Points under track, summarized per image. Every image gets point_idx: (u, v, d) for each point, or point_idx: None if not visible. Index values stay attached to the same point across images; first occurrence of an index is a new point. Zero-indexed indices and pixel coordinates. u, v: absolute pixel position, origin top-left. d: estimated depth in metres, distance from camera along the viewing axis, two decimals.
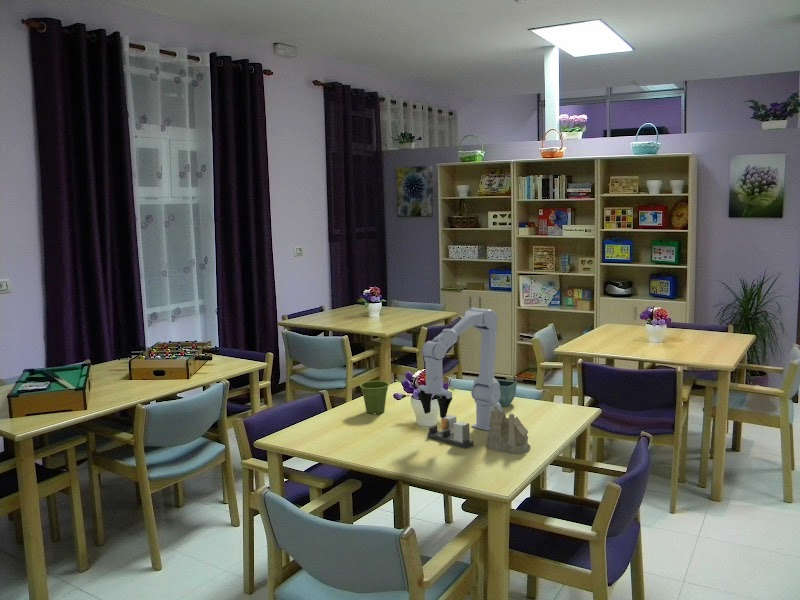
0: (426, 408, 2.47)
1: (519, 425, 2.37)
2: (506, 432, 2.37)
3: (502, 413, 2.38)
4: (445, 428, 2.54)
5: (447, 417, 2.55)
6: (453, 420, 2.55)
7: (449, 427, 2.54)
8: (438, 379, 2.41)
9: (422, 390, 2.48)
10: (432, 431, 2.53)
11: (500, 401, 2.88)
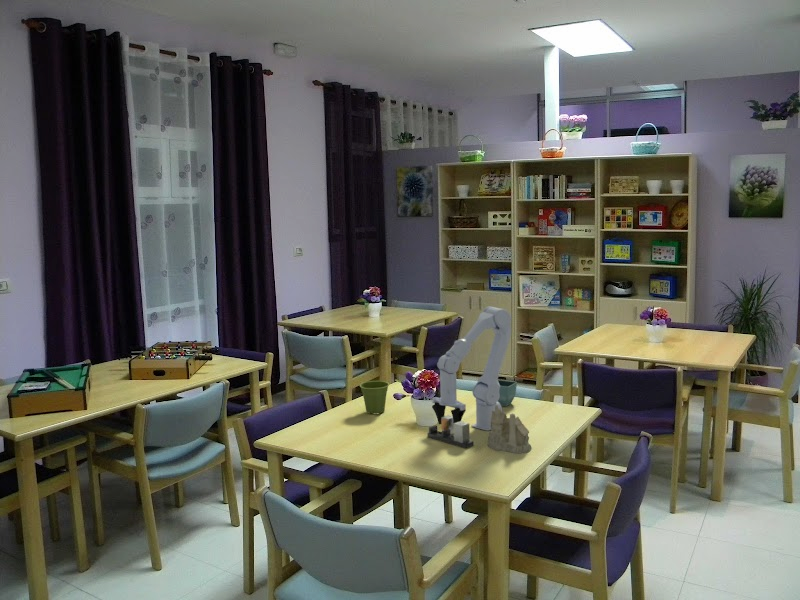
0: (440, 419, 2.58)
1: (520, 425, 2.37)
2: (507, 432, 2.37)
3: (503, 413, 2.38)
4: (445, 428, 2.54)
5: (447, 417, 2.55)
6: None
7: (449, 427, 2.54)
8: (452, 392, 2.52)
9: (436, 402, 2.59)
10: (432, 431, 2.53)
11: (500, 401, 2.88)
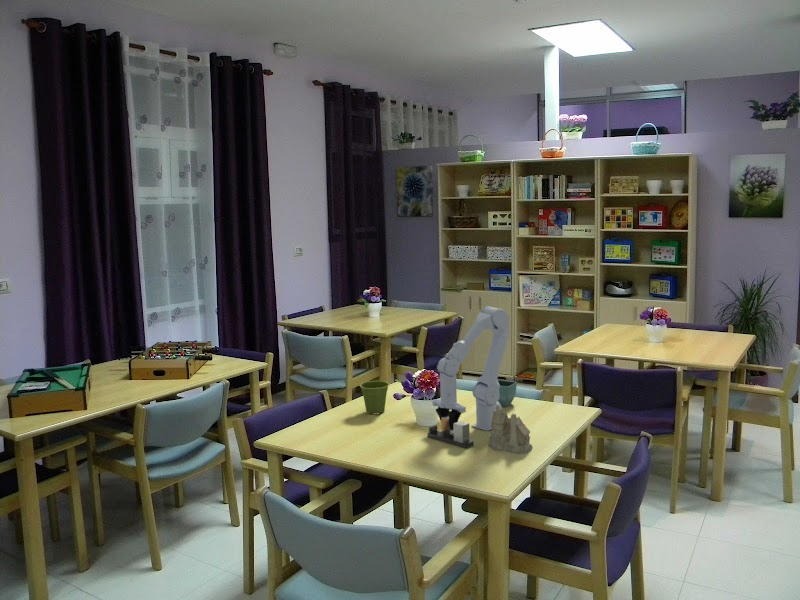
0: None
1: (521, 425, 2.37)
2: (508, 432, 2.37)
3: (504, 413, 2.38)
4: (445, 428, 2.54)
5: (447, 417, 2.55)
6: None
7: (449, 427, 2.54)
8: (452, 394, 2.52)
9: None
10: (432, 431, 2.53)
11: (500, 401, 2.88)
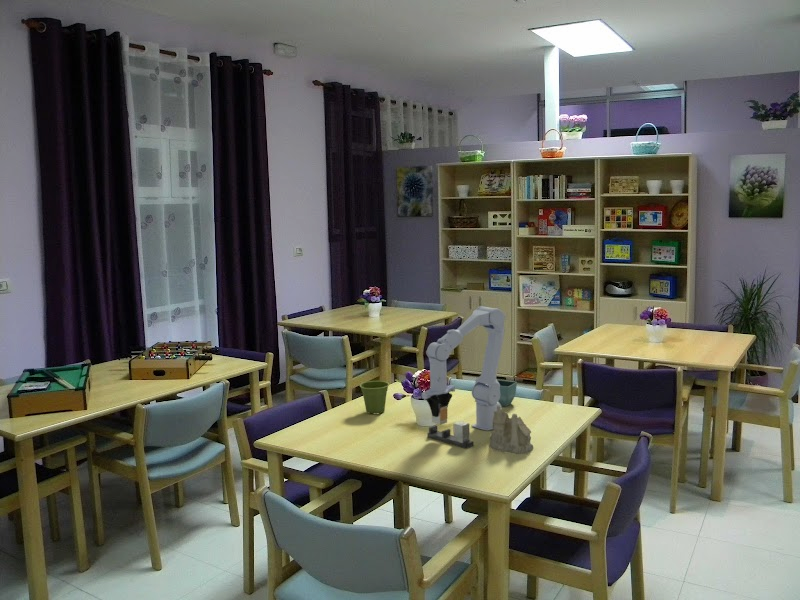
0: None
1: (522, 425, 2.37)
2: (509, 432, 2.37)
3: (505, 413, 2.38)
4: (445, 417, 2.49)
5: (441, 406, 2.49)
6: None
7: None
8: None
9: (431, 395, 2.46)
10: (432, 431, 2.53)
11: (500, 401, 2.88)
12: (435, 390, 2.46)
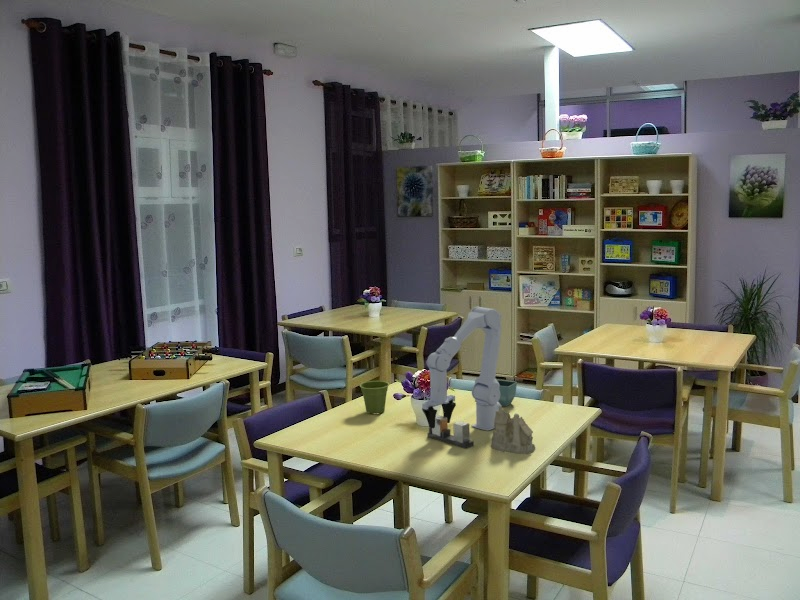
0: None
1: (524, 425, 2.37)
2: (511, 432, 2.37)
3: (507, 413, 2.38)
4: (445, 428, 2.49)
5: (441, 417, 2.50)
6: None
7: None
8: None
9: (428, 407, 2.46)
10: None
11: (500, 401, 2.88)
12: (435, 400, 2.47)
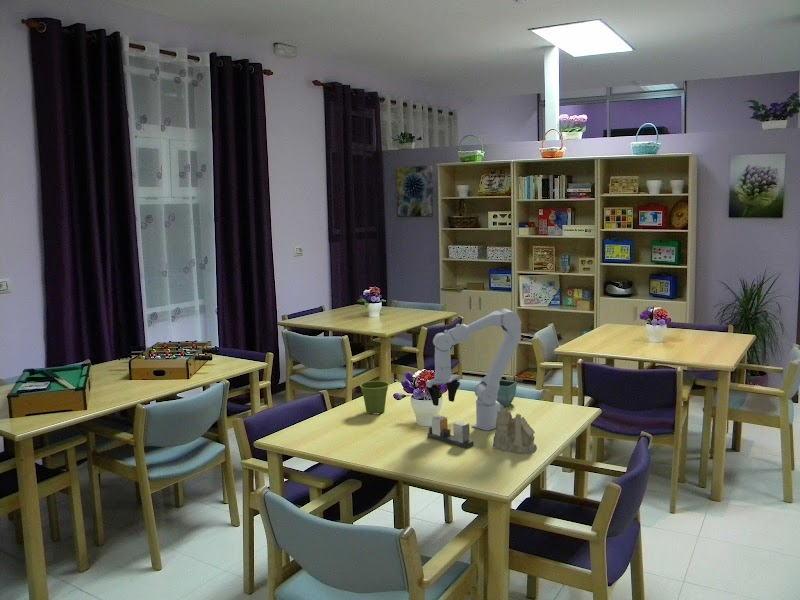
0: None
1: (525, 425, 2.37)
2: (513, 432, 2.37)
3: (508, 413, 2.38)
4: (445, 428, 2.49)
5: (441, 417, 2.50)
6: None
7: None
8: None
9: (432, 385, 2.55)
10: None
11: (500, 401, 2.88)
12: (439, 379, 2.56)
